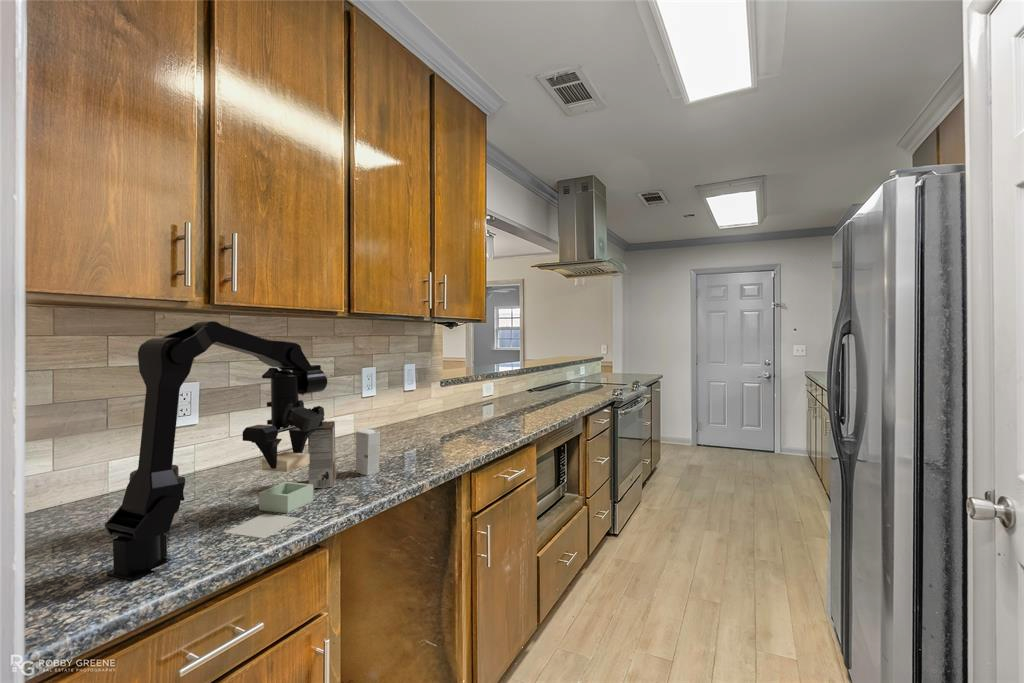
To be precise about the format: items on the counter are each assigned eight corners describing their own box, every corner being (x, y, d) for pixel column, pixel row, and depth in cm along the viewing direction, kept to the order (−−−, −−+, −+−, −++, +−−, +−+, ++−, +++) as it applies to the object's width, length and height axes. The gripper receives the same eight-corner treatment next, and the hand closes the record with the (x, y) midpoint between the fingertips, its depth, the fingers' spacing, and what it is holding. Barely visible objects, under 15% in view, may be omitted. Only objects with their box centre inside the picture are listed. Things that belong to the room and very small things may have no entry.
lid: (287, 472, 102) (286, 461, 102) (261, 469, 104) (261, 459, 104) (309, 463, 109) (309, 453, 109) (285, 461, 111) (285, 451, 111)
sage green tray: (287, 516, 102) (287, 495, 102) (259, 512, 104) (258, 492, 104) (313, 503, 109) (313, 484, 109) (286, 500, 112) (285, 481, 112)
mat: (264, 541, 89) (264, 538, 89) (224, 535, 92) (224, 532, 92) (301, 521, 99) (301, 518, 99) (264, 516, 102) (264, 513, 102)
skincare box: (355, 472, 134) (354, 431, 134) (368, 468, 138) (367, 428, 137) (367, 476, 130) (367, 433, 130) (381, 472, 134) (380, 430, 134)
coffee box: (311, 479, 128) (310, 421, 127) (336, 477, 130) (335, 420, 129) (307, 490, 119) (306, 428, 119) (334, 487, 121) (333, 426, 121)
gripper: (282, 403, 95) (283, 479, 95) (340, 392, 113) (341, 456, 113) (239, 402, 98) (241, 474, 99) (303, 391, 116) (304, 453, 116)
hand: (286, 464), depth 107 cm, fingers closed on lid, 7 cm apart
